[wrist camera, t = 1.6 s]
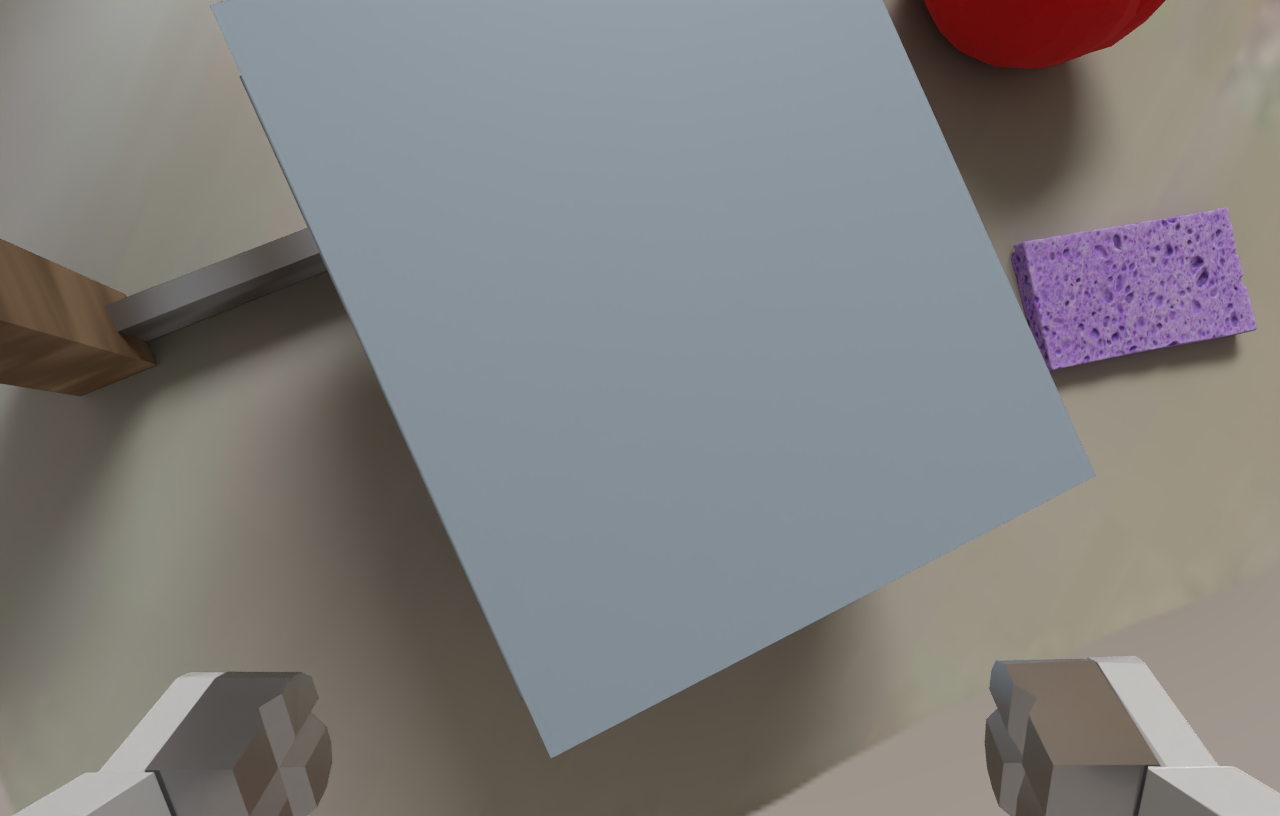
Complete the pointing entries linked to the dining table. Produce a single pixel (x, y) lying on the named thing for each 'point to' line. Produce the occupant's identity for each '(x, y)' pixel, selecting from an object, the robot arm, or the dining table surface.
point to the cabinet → (659, 314)
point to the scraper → (122, 312)
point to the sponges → (1132, 288)
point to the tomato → (1036, 28)
